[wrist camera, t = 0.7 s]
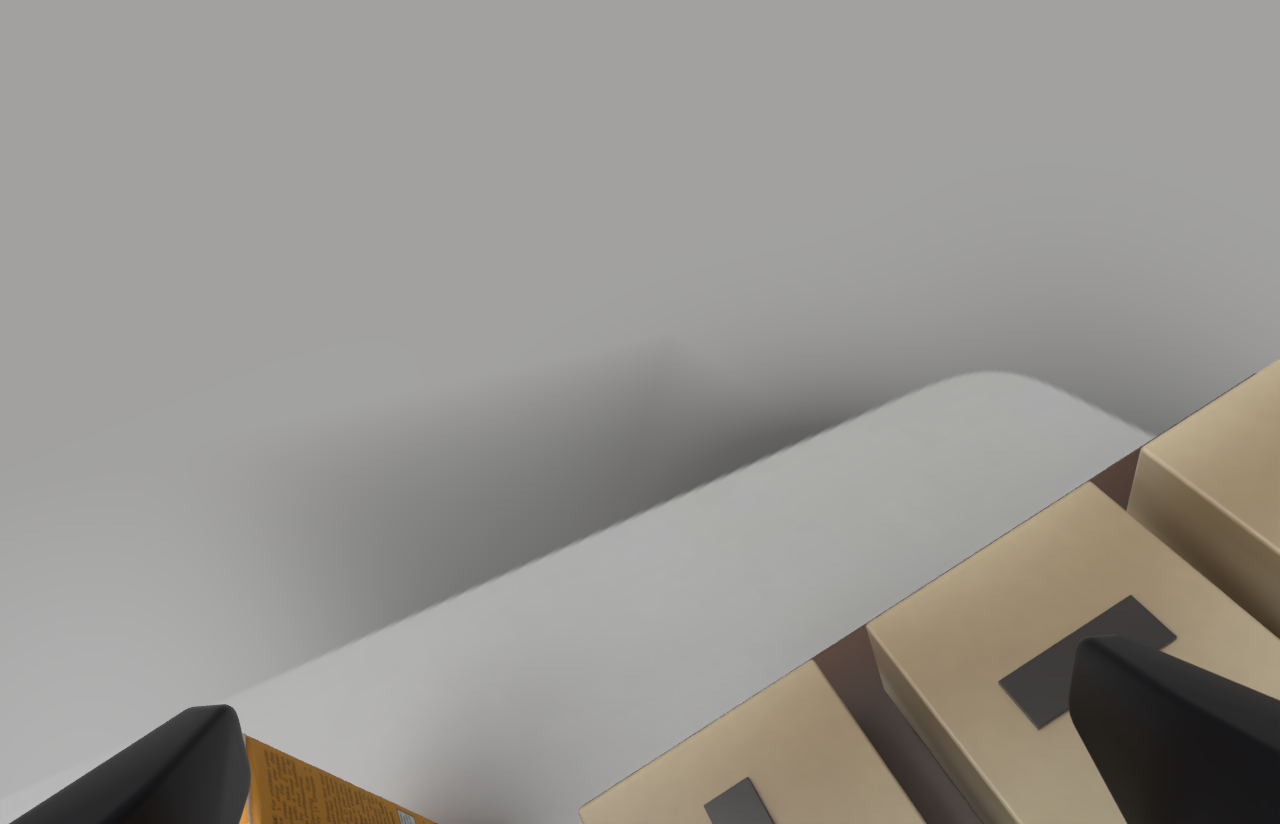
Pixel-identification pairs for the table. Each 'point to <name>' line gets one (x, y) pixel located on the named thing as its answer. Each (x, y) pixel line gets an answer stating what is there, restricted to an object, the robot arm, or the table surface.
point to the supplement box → (310, 794)
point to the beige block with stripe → (1221, 493)
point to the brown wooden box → (959, 688)
